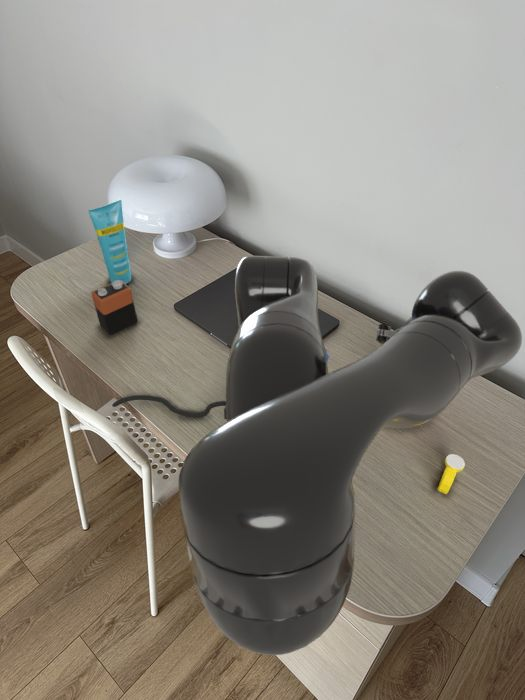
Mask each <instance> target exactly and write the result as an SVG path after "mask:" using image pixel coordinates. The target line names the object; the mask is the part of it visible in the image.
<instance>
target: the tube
mask: <svg viewBox="0 0 525 700" xmlns="http://www.w3.org/2000/svg"><path fill="white" fill-rule="evenodd" d="M87 213H88V215H89V217H90V219H91V223H92V225H93V228H94V231H95V233H96V236H97V240H98V243H99V247H100V250H101V252H102V257H103V260H104V263H105V267H106V270H107V274H108V277H109V280H110V284H111V283H113V282H114V281H117V280H121V281H122V282H123V283H125V284H126V285H127V284H129V283H130V282H131V281H132V272H131V271H132V270H131V266H130V260H129V252H128V245H127V238H126V230H125V221H124V214H123V213H124V212H123V203H122V199H118V200H115V201H112V202H110V203H107V204H105V205H102V206H98V207H94V208H91V209H88V210H87Z"/></svg>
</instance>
